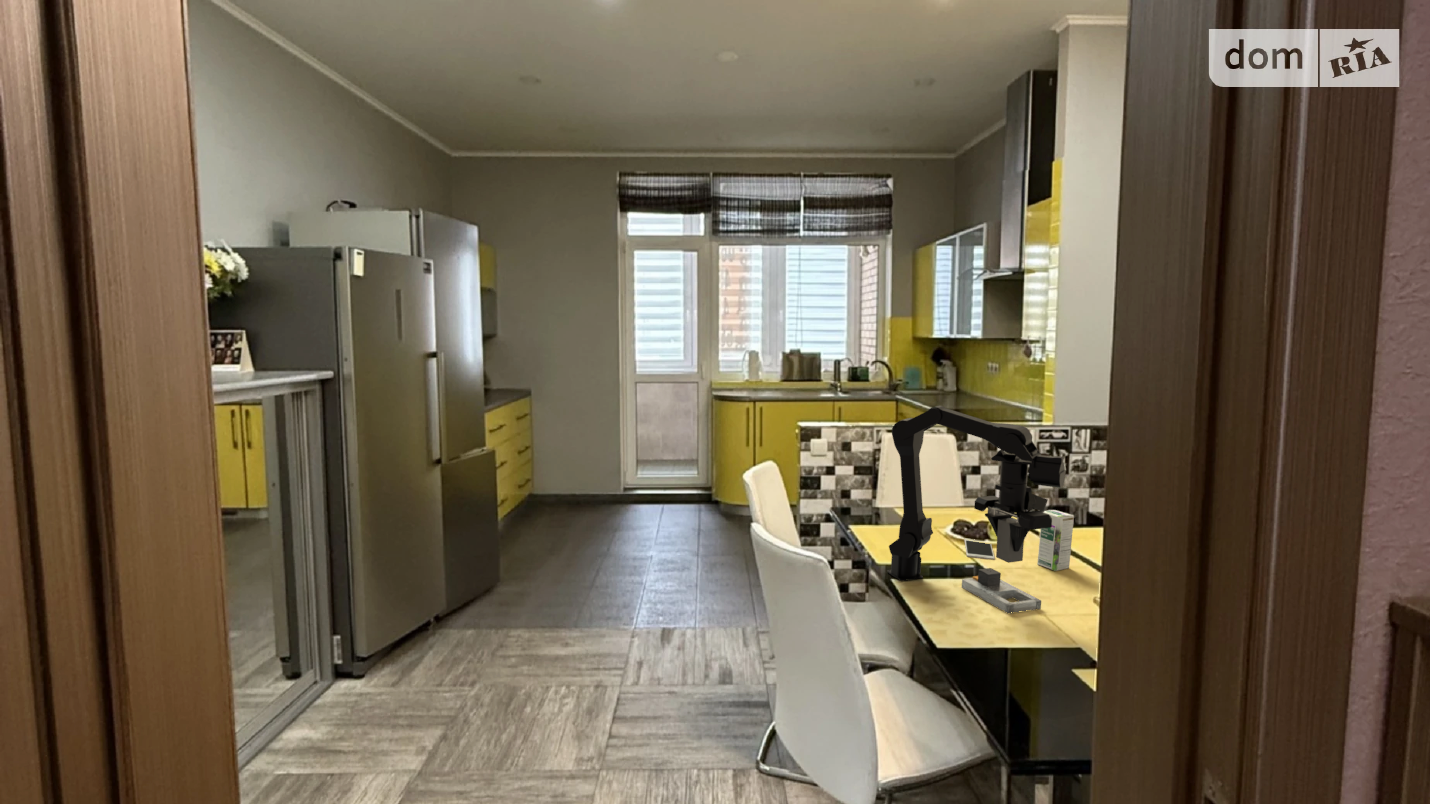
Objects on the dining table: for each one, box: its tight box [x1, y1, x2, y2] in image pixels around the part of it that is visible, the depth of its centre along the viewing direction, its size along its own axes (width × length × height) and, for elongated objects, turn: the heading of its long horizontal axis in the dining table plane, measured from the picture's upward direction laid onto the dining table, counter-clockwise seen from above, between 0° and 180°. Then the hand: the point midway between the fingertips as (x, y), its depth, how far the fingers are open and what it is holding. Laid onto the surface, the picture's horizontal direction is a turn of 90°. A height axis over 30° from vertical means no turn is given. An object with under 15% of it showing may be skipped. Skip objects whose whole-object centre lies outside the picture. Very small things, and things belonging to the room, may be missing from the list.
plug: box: [995, 517, 1025, 564], centre depth 167 cm, size 4×4×9 cm
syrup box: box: [1037, 509, 1075, 572], centre depth 192 cm, size 6×6×14 cm
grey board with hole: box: [961, 567, 1042, 614], centre depth 170 cm, size 9×16×5 cm, turn 19°
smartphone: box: [964, 538, 996, 560], centre depth 205 cm, size 7×16×1 cm, turn 164°
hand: (1009, 548), depth 168 cm, fingers closed on plug, 4 cm apart
